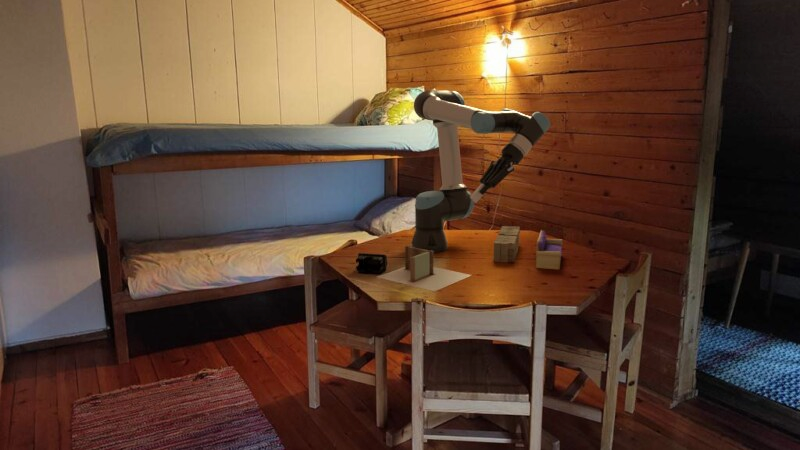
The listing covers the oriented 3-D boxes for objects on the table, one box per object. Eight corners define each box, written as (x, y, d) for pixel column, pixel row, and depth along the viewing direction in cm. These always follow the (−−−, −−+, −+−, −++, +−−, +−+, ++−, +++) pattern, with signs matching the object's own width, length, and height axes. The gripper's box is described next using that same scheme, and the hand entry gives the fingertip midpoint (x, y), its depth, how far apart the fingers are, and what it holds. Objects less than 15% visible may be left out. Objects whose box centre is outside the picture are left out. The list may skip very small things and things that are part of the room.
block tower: (513, 265, 214) (519, 244, 241) (514, 244, 212) (520, 225, 239) (492, 264, 216) (501, 243, 243) (493, 242, 214) (501, 224, 241)
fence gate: (426, 273, 198) (426, 251, 197) (430, 274, 197) (430, 252, 196) (409, 280, 191) (409, 257, 189) (413, 281, 190) (413, 258, 188)
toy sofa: (559, 270, 204) (561, 243, 202) (535, 268, 206) (536, 241, 204) (562, 255, 223) (563, 230, 221) (539, 254, 226) (540, 229, 224)
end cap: (387, 270, 206) (387, 252, 204) (382, 276, 199) (381, 257, 198) (361, 269, 208) (360, 251, 207) (355, 274, 201) (354, 256, 200)
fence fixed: (404, 269, 205) (403, 246, 203) (407, 268, 207) (407, 245, 205) (431, 275, 198) (431, 252, 196) (434, 274, 199) (434, 251, 197)
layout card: (376, 278, 197) (376, 276, 197) (415, 264, 213) (415, 262, 213) (434, 292, 181) (434, 291, 181) (471, 276, 198) (471, 274, 197)
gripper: (532, 158, 195) (488, 210, 193) (512, 155, 207) (471, 203, 205) (519, 143, 192) (474, 195, 190) (500, 141, 204) (457, 190, 202)
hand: (472, 199), depth 197 cm, fingers closed
